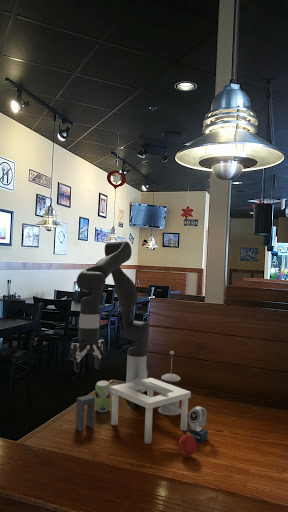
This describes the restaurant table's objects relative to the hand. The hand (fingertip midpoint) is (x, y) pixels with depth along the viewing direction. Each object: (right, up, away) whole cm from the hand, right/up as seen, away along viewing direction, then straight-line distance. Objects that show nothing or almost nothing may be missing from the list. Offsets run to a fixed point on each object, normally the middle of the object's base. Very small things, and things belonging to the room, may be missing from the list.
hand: (87, 369), depth 148 cm
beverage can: (+4, -22, +17) cm, 28 cm away
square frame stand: (+23, -22, +3) cm, 32 cm away
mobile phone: (+15, -23, +28) cm, 39 cm away
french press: (+31, -23, +21) cm, 44 cm away
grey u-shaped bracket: (-1, -21, 0) cm, 21 cm away
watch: (+40, -23, -6) cm, 46 cm away
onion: (+35, -22, -20) cm, 46 cm away
